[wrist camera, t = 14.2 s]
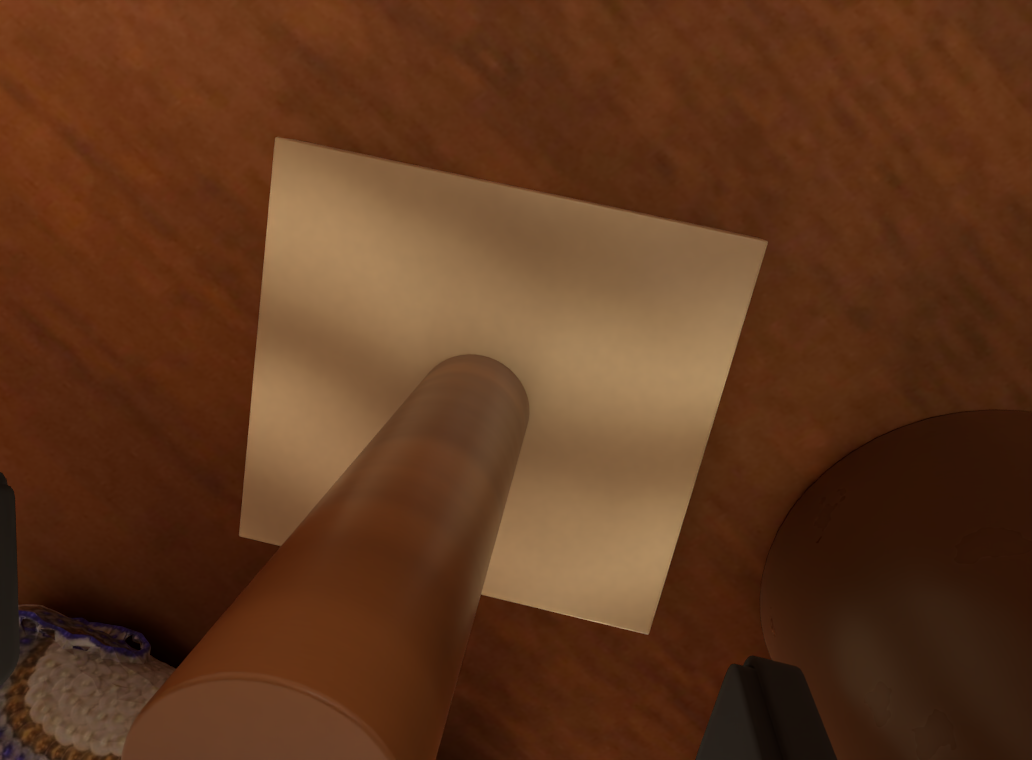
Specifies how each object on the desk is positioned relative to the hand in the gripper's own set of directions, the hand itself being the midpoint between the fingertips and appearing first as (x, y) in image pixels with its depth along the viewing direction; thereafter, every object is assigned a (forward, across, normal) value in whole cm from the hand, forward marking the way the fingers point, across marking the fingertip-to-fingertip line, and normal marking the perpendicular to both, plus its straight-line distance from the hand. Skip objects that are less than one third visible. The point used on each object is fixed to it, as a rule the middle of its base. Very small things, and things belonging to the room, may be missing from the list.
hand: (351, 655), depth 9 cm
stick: (+11, 0, +1) cm, 11 cm away
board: (+12, 0, 0) cm, 12 cm away
